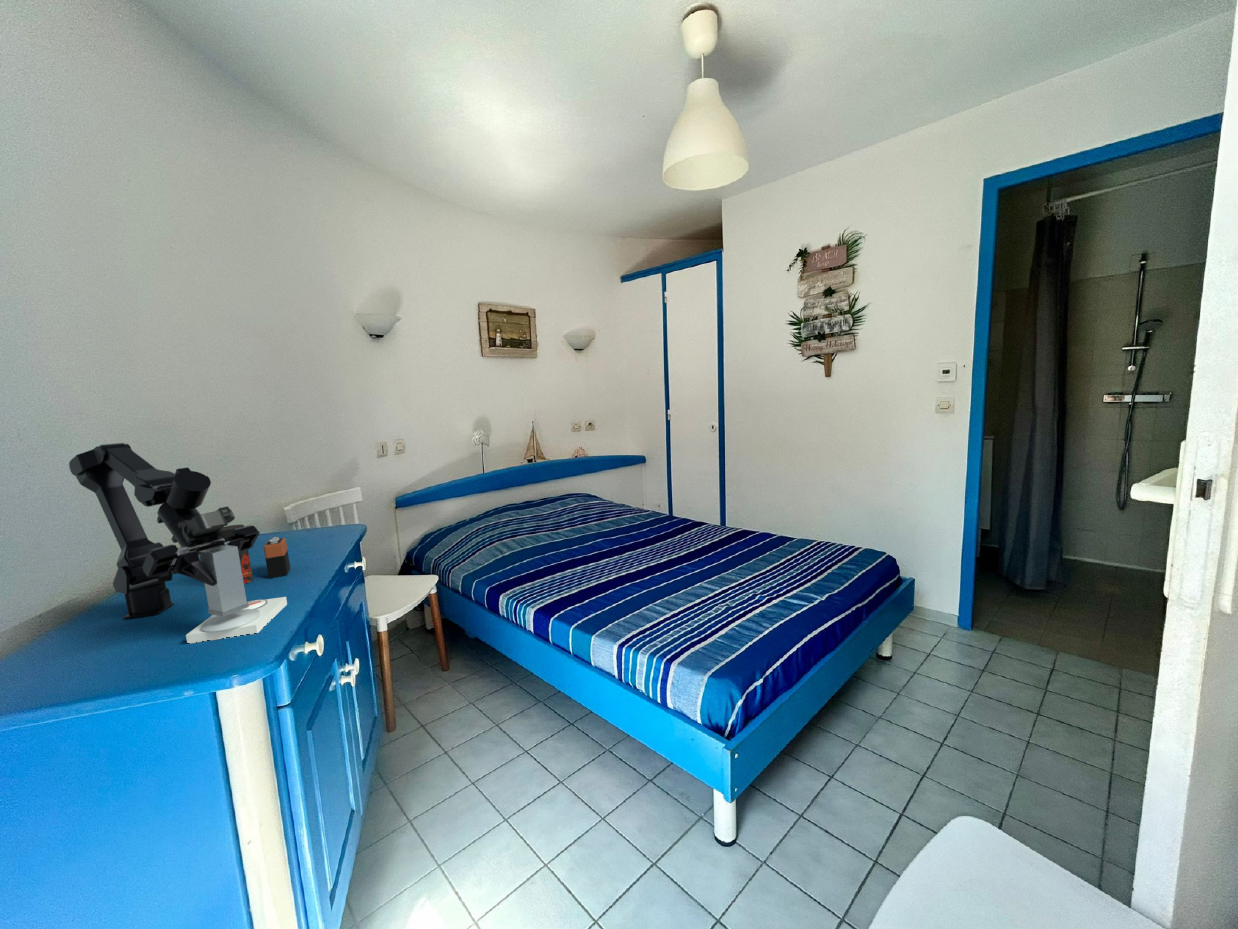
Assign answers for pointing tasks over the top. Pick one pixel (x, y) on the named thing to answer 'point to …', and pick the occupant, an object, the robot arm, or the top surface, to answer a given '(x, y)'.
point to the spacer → (224, 580)
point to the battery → (276, 557)
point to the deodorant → (243, 555)
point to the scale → (238, 621)
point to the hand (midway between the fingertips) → (227, 580)
